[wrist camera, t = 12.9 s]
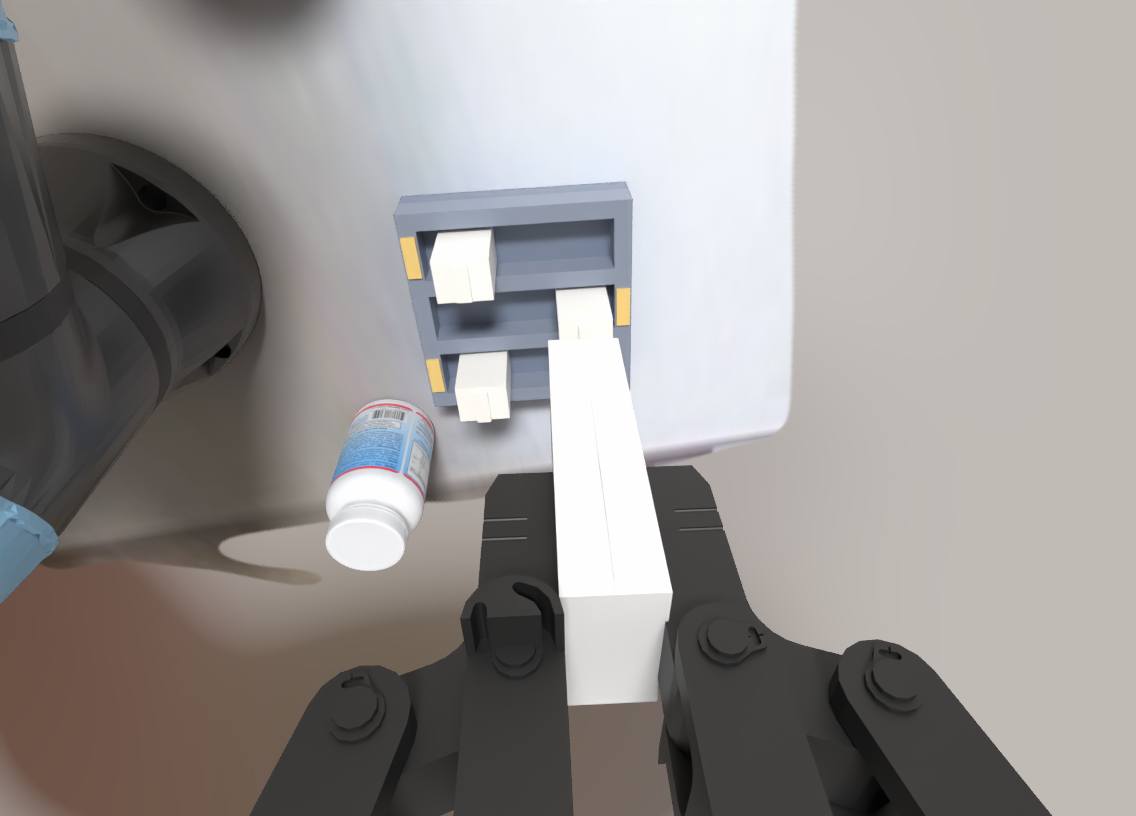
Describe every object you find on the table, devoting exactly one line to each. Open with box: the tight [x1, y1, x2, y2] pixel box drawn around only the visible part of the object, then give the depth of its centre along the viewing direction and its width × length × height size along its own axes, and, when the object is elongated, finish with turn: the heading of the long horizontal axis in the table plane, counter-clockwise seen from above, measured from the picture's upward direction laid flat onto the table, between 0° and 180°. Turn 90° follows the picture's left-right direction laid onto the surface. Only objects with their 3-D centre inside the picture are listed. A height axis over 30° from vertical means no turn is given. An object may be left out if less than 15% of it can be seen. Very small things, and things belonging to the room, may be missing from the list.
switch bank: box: [394, 182, 633, 407], centre depth 40 cm, size 13×13×3 cm
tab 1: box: [430, 226, 497, 304], centre depth 35 cm, size 3×2×6 cm
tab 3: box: [555, 285, 613, 340], centre depth 38 cm, size 3×2×6 cm
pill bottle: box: [326, 399, 434, 571], centre depth 43 cm, size 6×6×11 cm
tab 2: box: [455, 350, 511, 423], centre depth 40 cm, size 3×2×6 cm
